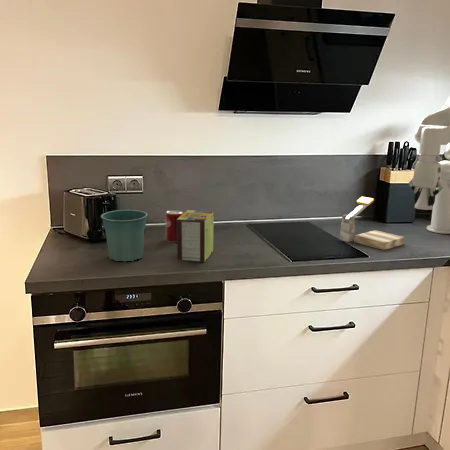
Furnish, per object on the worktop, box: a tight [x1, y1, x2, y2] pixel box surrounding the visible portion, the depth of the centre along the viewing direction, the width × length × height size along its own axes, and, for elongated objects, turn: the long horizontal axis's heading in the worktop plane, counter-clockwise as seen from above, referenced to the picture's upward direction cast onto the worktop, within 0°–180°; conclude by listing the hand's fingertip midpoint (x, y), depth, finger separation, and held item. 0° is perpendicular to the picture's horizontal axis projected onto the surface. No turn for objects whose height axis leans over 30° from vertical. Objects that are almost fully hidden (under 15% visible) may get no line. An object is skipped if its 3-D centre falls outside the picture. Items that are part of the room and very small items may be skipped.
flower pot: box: [100, 209, 148, 262], centre depth 189 cm, size 16×16×16 cm
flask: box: [413, 187, 433, 211], centre depth 209 cm, size 7×7×10 cm
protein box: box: [176, 209, 215, 263], centre depth 193 cm, size 10×15×16 cm
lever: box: [345, 196, 375, 222], centre depth 219 cm, size 15×6×3 cm, turn 129°
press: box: [339, 214, 405, 251], centre depth 215 cm, size 16×20×10 cm
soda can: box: [164, 209, 184, 243], centre depth 212 cm, size 7×7×12 cm
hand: (424, 203), depth 210 cm, fingers closed on flask, 5 cm apart
